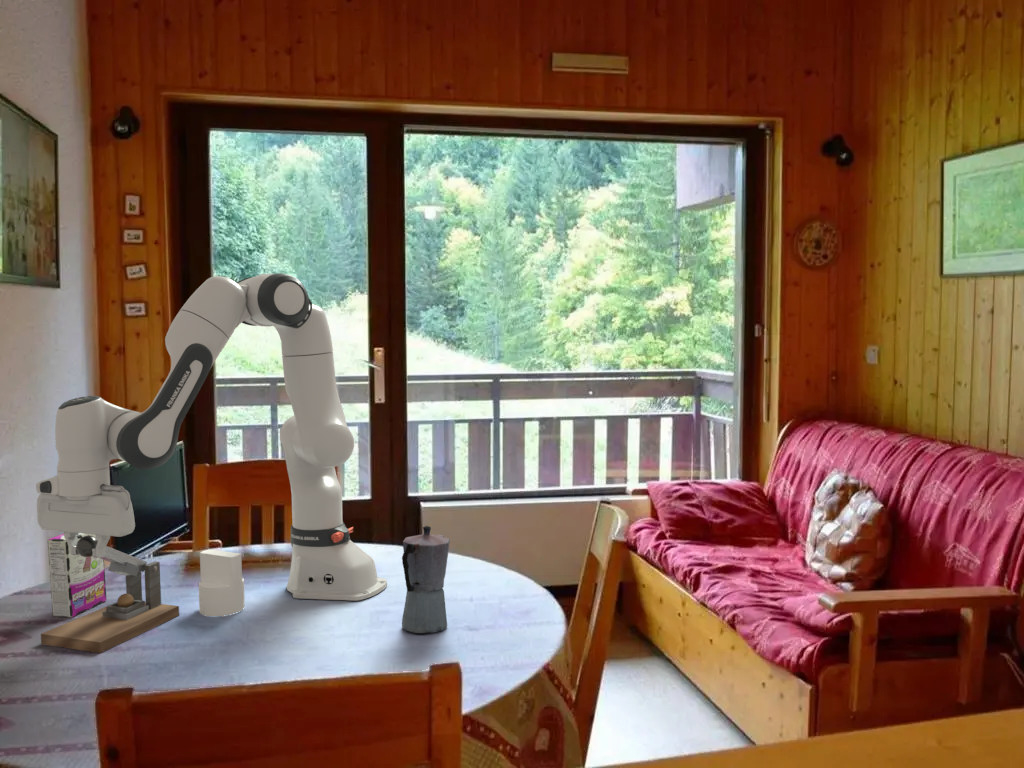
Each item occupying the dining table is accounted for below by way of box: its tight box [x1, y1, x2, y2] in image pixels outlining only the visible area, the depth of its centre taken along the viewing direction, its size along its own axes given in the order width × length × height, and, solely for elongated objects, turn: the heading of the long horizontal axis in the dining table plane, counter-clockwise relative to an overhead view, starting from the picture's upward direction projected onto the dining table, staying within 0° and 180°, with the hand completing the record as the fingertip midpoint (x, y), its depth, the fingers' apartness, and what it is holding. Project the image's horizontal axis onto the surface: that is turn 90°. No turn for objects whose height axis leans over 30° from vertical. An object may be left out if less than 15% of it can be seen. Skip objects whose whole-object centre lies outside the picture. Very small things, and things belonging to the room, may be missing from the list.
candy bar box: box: [47, 533, 107, 618], centre depth 183 cm, size 11×5×16 cm, turn 168°
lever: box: [76, 536, 148, 577], centre depth 170 cm, size 4×17×4 cm, turn 161°
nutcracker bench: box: [40, 561, 180, 654], centre depth 171 cm, size 14×21×11 cm, turn 161°
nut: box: [116, 593, 134, 608], centre depth 174 cm, size 3×3×3 cm
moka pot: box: [401, 525, 450, 634], centre depth 170 cm, size 10×15×20 cm, turn 161°
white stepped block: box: [198, 548, 246, 617], centre depth 182 cm, size 9×9×12 cm
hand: (87, 555), depth 165 cm, fingers closed on lever, 4 cm apart
